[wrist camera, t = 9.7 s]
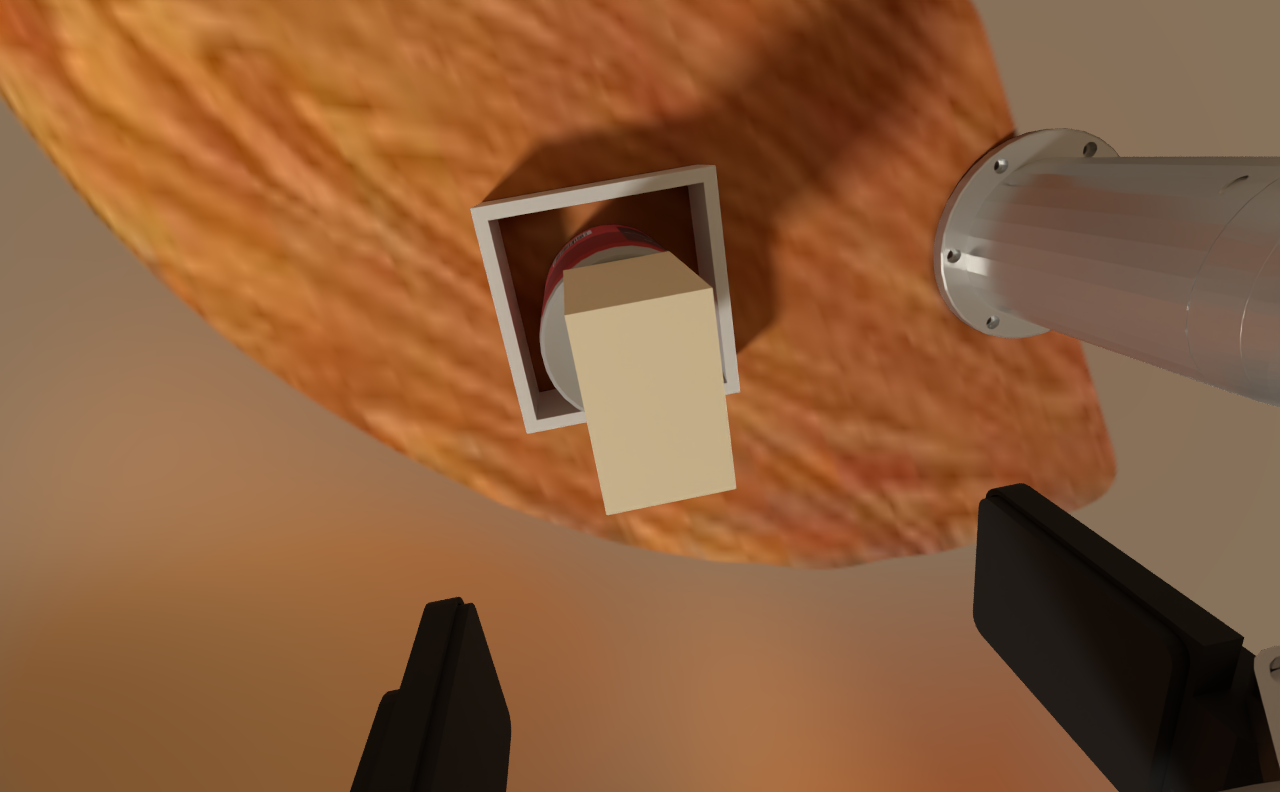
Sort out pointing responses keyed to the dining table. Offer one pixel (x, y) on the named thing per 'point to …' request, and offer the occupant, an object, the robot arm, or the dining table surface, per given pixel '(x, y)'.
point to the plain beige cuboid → (650, 380)
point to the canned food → (554, 337)
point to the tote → (702, 188)
